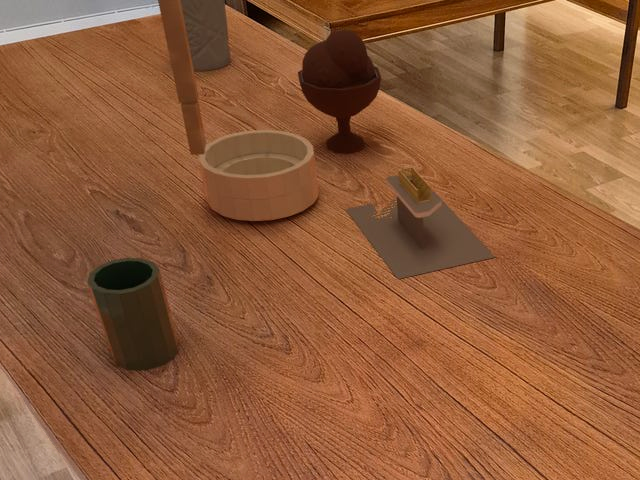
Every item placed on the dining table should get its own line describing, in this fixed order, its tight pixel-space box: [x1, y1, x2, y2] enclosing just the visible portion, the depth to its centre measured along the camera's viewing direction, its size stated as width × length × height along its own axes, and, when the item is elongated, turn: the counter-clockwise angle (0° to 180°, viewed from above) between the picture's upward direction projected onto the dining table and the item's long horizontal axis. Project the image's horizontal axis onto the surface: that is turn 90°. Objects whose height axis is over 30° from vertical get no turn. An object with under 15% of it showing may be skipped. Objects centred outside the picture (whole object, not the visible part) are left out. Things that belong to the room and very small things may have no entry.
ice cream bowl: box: [297, 29, 382, 154], centre depth 118 cm, size 11×11×15 cm
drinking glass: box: [180, 0, 232, 72], centre depth 142 cm, size 10×10×12 cm
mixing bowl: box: [198, 129, 320, 222], centre depth 109 cm, size 14×14×6 cm
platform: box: [345, 166, 496, 280], centre depth 103 cm, size 12×18×7 cm, turn 25°
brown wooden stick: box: [157, 0, 207, 156], centre depth 84 cm, size 2×3×24 cm, turn 10°
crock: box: [86, 257, 180, 371], centre depth 84 cm, size 6×6×9 cm
